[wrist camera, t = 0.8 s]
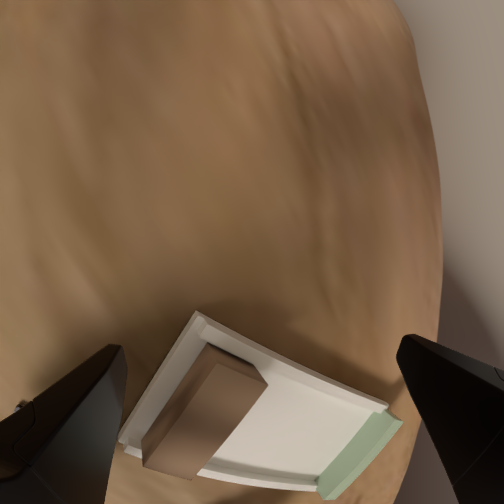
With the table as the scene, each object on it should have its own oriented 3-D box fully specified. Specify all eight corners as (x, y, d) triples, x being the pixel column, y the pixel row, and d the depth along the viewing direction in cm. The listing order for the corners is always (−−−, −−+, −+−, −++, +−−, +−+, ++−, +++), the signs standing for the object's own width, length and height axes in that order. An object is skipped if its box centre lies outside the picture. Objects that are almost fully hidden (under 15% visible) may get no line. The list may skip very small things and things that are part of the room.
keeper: (184, 455, 21) (191, 480, 18) (140, 440, 19) (142, 466, 16) (253, 364, 21) (268, 385, 18) (207, 341, 20) (217, 362, 17)
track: (315, 481, 28) (331, 502, 24) (118, 434, 20) (117, 467, 16) (383, 400, 29) (406, 418, 25) (195, 310, 20) (206, 332, 17)
